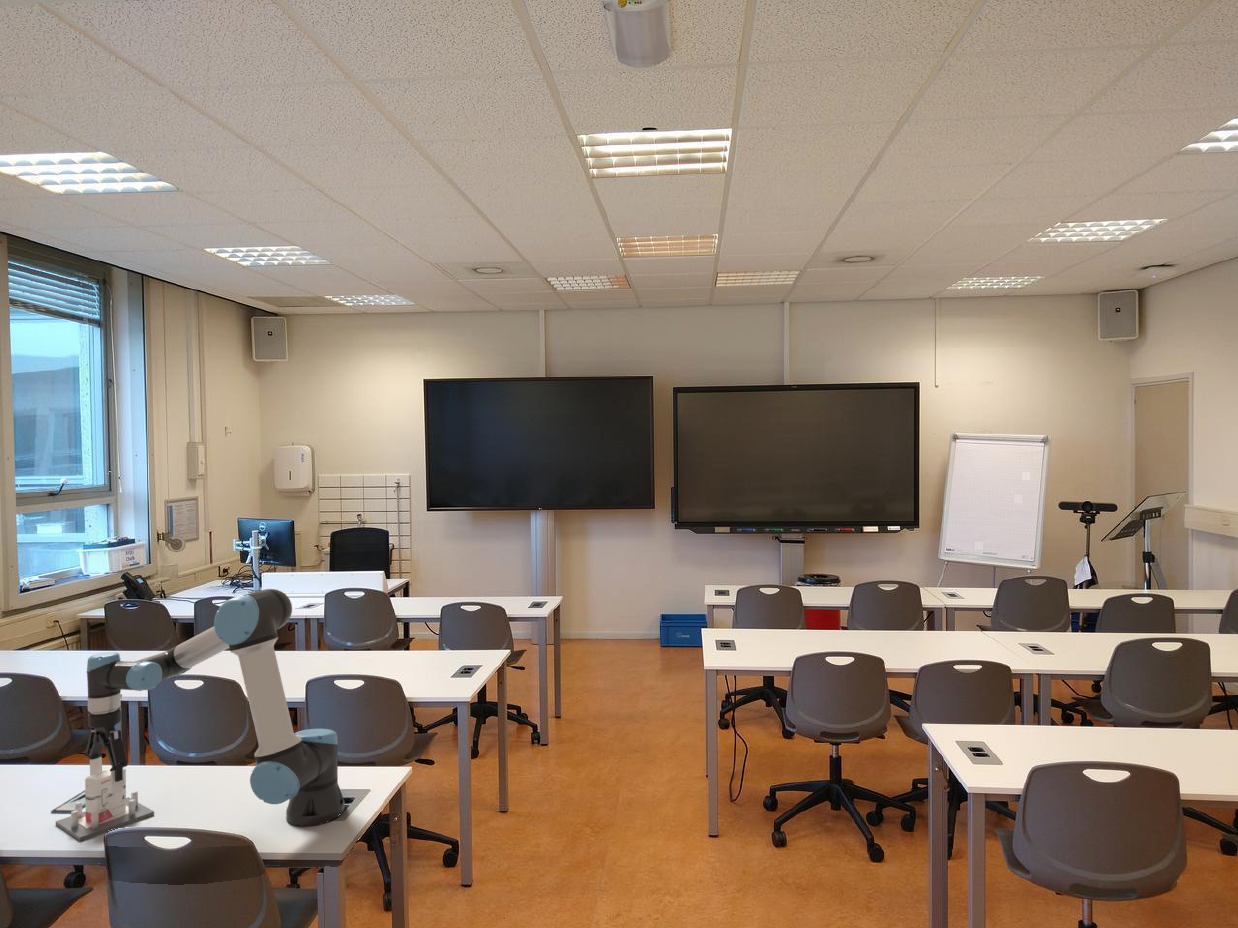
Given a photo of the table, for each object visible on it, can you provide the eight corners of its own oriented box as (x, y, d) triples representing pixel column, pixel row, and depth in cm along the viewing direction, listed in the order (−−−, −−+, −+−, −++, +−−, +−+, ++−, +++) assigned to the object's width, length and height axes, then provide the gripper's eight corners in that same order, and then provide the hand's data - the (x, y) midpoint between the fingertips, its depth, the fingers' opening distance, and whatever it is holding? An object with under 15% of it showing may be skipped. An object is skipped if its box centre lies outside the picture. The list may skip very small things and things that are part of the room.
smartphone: (48, 811, 214) (87, 787, 229) (49, 815, 214) (87, 791, 229) (74, 812, 214) (111, 788, 229) (74, 815, 214) (111, 791, 229)
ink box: (97, 823, 205) (97, 780, 205) (84, 821, 206) (83, 778, 206) (127, 809, 213) (126, 767, 213) (113, 807, 214) (113, 765, 214)
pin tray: (154, 814, 212) (153, 796, 212) (79, 841, 198) (79, 822, 198) (128, 800, 222) (128, 783, 222) (55, 824, 207) (55, 806, 207)
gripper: (140, 713, 205) (142, 791, 205) (100, 699, 220) (102, 772, 220) (108, 721, 199) (110, 802, 199) (70, 706, 214) (72, 781, 214)
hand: (106, 786), depth 209 cm, fingers open, 13 cm apart
